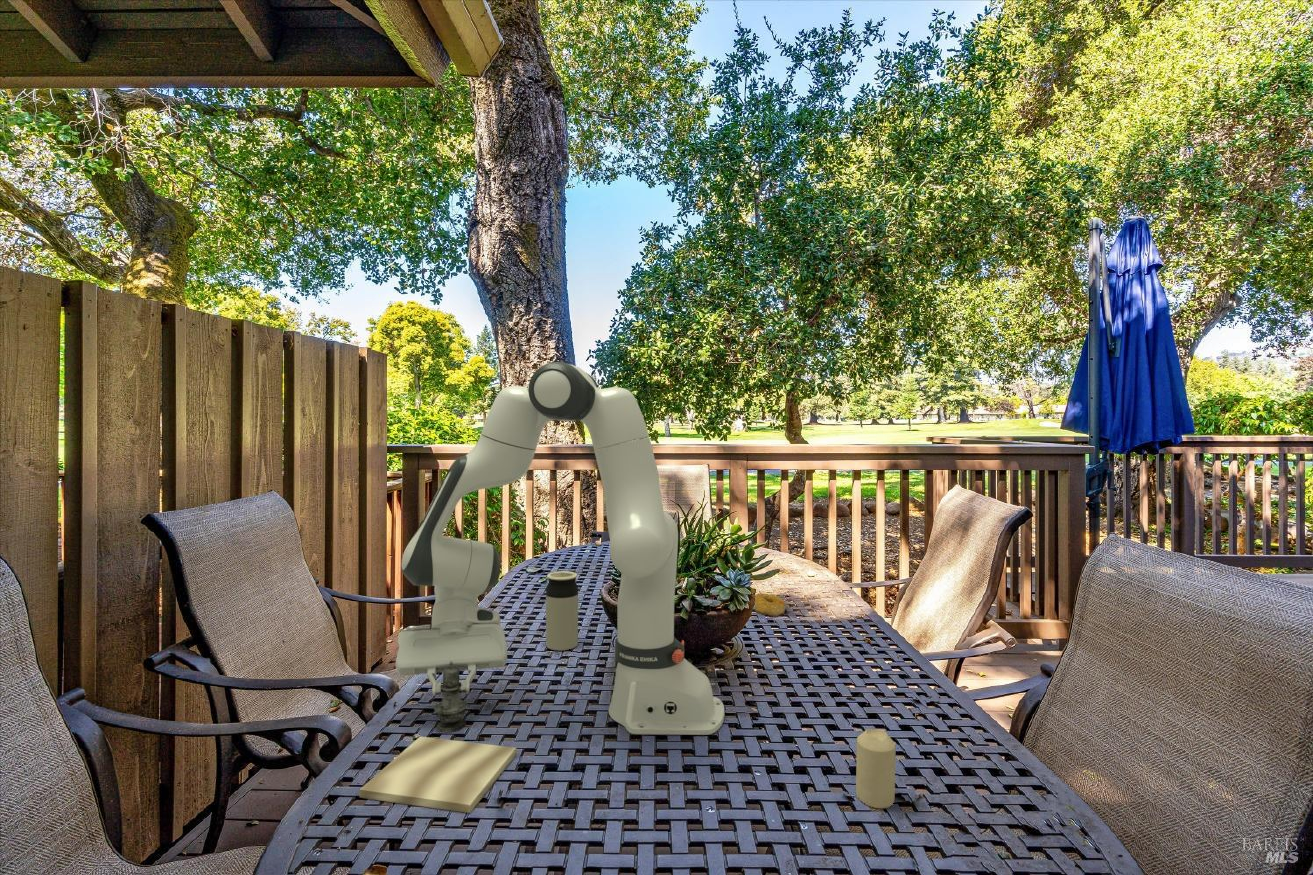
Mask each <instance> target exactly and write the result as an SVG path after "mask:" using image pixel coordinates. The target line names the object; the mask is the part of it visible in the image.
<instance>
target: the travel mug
mask: <svg viewBox="0 0 1313 875" xmlns="http://www.w3.org/2000/svg"><path fill="white" fill-rule="evenodd" d="M546 577H547V580H548V583H547V586H546V587H545V646H546V647H547V649H550V650H552V651H560V652H563V651H569V649H570V650H572V649H575V648H576V647H577V646H578V645H579V586H578V584H577V582H576V581H577V580H576V579H577V577H578V574H577V573H576V572H574V571H569V570H568V571H567V570H564V571H562V570H559V571H552V572H549V573H548V574H547V575H546Z"/></svg>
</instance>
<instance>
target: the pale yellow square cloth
mask: <svg viewBox="0 0 1313 875" xmlns="http://www.w3.org/2000/svg"><path fill="white" fill-rule="evenodd" d="M516 756H517V747H513V746H504V745H496V744H488V743H478V742H471V741H469V742H468V741H462V740H461V741H460V740H453V739H444V738H437V737H436V738H435V737H430V736H429V737H427V736H419V737H418V738H417V739H416V740H414V741H413V742H412V743H410V745H408V747H406V748H405V749H404V750H402V752H400V753H399V754H398V755H397V756H396V757H395V758H394V759H393V760H391V762H389V763H388V764H387V765H385V766H384V767H383V768H382V769H381V770H380V771H379V772H377V774H375V775H374V776H373V777H372V778H371V779H370V780H369V781H367V782H366V783H365V784H364V785H363V786H362V787H360V789H358V790H359V791H358V792H359V793H358V794H359V798H360V799H361V798H362V799H367V800H368V799H369V800H374V801H375V800H376V801H382V802H390V803H397V804H402V805H412V806H417V807H425V808H431V809H439V810H444V811H445V810H446V811H453V812H459V813H467V814H471V812H472V811H473V810H474V809H475V808H476V806H477V805H478V804H479V803H480V802H481V800H482V799H483V798H484V796H485V795H486V794H485V793H488V791H489V790H490V789H491V787H492V786H493V785H494V784H495V782H496V781H497V780H498V778H500V776H501V775H500V774H502V773H503V772H504V771H505V769H507V767H508V766H509V765H510V763H511V762H512V761H513V760H514V758H515V757H516ZM484 794H485V795H484Z"/></svg>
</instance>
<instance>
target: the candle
mask: <svg viewBox="0 0 1313 875" xmlns="http://www.w3.org/2000/svg"><path fill="white" fill-rule="evenodd" d="M896 748H897V747H896V743H895V742H894V740H893V739H892V738H891V736H890V735H888V733H887V732H886V731H885V730H884V731H883V730H881V729H879V728H876V729H872V728H866V730H864V731H863V732H862V733H861V734H860V735H858V736H857V737H856V764H855V765H856V769H855V770H856V771H855V773H856V775H855V776H856V777H855V780H856V781H855V793H856V794H855V795H856V797H857V799H858V798H859V799H858V800H859V801H860V802H861V801H862V802H863V803H862V802H861V803H862V804H864V803H865V804H864V805H865V806H867V807H871V808H874V809H887V808H891V807H892V806H893V805H894V804H893V803H895V800H896V799H895V798H896V797H895V795H896V794H895V792H896V791H895V790H896ZM891 805H892V806H891ZM890 806H891V807H890Z"/></svg>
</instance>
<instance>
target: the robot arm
mask: <svg viewBox="0 0 1313 875" xmlns="http://www.w3.org/2000/svg"><path fill="white" fill-rule="evenodd" d="M578 421H580V422H582V423H583V424H584V425H585V426H586V429H587V430H588V432H589V435H590V440H591V443H592V447H593V450H594V455H595V458H596V463H597V464H596V465H597V467H598V471H599V472H598V473H599V475H600V478H601V484H602V488H603V493H604V501H605V512H606V523H607V528H608V529H607V530H608V538H609V553H610V554H609V556H610V559H611V562H612V564H613V565H614V567H615V568H616V569H617V571H619V572H620V573H621V574H620V575H621V576H620V583H619V589H618V590H619V591H618V595H617V623H616V624H617V627H616V628H617V630H616V632H617V634H616V636H617V637H616V639H614V640H615V641H614V649H613V650H614V653H613V654H614V657H613V659H614V668H615V679H614V684H613V685H614V686H613V692H612V696H611V700H610V704H609V707H608V715H609V716H610V718H611V719H612V720H614V721H615V722H616V723H618V724H620V725H621V726H623V727H624V728H625V729H626V731H627V732H628V733H630V734H632V735H678V736H679V735H684V736H685V735H689V736H690V735H693V736H694V735H698V736H700V735H701V736H702V735H703V736H705V735H707V736H708V735H713V733H716V732H717V731H718V730H719V729H720V728H721V727H722V725H723V723H724V720H725V706H724V703H723V701H722V700H721V699H720V698H718V697H717V696H714V694H713V693H714V692H713V689H712V685H711V682H710V679H709V678H708V676H707V675H706V674H705V672H702V671H701V670H699V669H698V668H697V667H696V666H694V665H693V664H692V663H691V662H689V661H688V660H687V659H686V658H685V641H684V639H682V640H681V642H680V641H679V640H678V639H677V638H676V637H675V635H674V634H675V594H676V580H677V567H678V565H677V564H678V548H679V546H678V545H679V530H678V527H677V526H678V525H677V524H676V521H675V520H674V518H673V516H671V514H669V513H668V512H666V511H665V510H664V507H663V500H662V492H661V483H660V473H659V469H658V466H657V463H656V459H655V458H656V457H655V455H654V450H653V446H652V442H651V439H650V435H649V432H648V427H647V424H646V421H645V418H644V415H643V412H642V411H641V409H640V405H639V403H638V401H637V399H636V397H635V396H634V394H633V393H632V392H631V391H630V390H628V389H627V388H624V387H619V386H618V387H617V386H612V387H607V388H599V386H598V383H597V382H596V380H595V379H594V377H593V376H592V375H590V374H589V373H587V372H586V371H585V370H583V369H582V368H580V367H579V366H576V365H573V364H571V363H570V364H569V363H567V362H563V361H553V362H549V363H546V364H543V365H542V366H540V367H538V369H536V370H535V372H534V373H533V374H532V376H530V380H529V383H528V387H525V386H521V385H510V386H507V387H504V388H502V389H501V390H500V391H499V392H498V393H497V396H496V397H495V399H494V401H493V403H492V405H491V407H490V410H489V411H488V414H487V416H486V418H485V422H484V424H483V427H482V430H481V431H480V432H481V433H480V436H479V438H478V440H477V442H476V444H475V445H474V447H473V448H471V450H470V451H469V452H467V454H466V455H461V456H459V457H456V459H455V460H454V461H453V463H452V464H451V466H450V467H449V468H448V470H447V472H446V473H445V476H444V478H443V479H442V481H441V483H440V485H439V487H438V489H437V491H436V493H435V494H434V496H433V498H432V500H431V502H430V504H429V506H428V508H427V510H426V512H425V513H424V516H423V518H422V520H421V522H420V524H419V525H418V528H417V529H416V530H415V532H414V533H413V535H412V537H411V539H410V541H409V542H408V544H407V546H406V547H405V549H404V552H403V554H402V558H401V564H400V565H401V566H400V569H401V570H400V571H401V572H402V574H403V575H404V577H405V578H406V579H407V581H409V582H410V584H412V586H415V587H418V586H419V587H433V586H434V596H435V602H434V604H433V607H432V614H431V624H422V625H421V624H420V625H409V626H407V627H405V628H404V629H402V630H401V631H400V632H398V636H397V642H396V643H397V646H398V649H397V653H396V659H395V665H394V666H395V669H396V672H397V673H398V674H399V675H400V676H403V677H404V676H411V675H412V676H414V675H415V676H416V675H424V674H427V678H428V681H429V683H431V686H432V689H431V691H432V692H431V693H432V696H441V695H442V691H443V690H442V689H441V686H442V685H443V684H442V682H441V681H440V682H437V681H436V678H437V673H443V670H444V669H445V668H446V667H447V666H449V665H450V664H449V663H450V662H451V661H452V663H453V664H452V665H454V666H457V667H458V668H459V672H460V671H461V672H462V671H467V673H468V675H467V677H466V679H462V680H461V681H460V683H461V687H460V694H461V693H463V694H464V693H470V689H471V688H470V687H471V686H470V684H471V683H472V682H473V680H474V678H475V677H476V675H477V670H483V669H493V668H495V669H496V668H502V667H504V666H505V665H506V664H507V662H508V650H507V641H506V635H505V632H504V628H503V627H502V626H501V617H500V613H499V612H497V611H496V610H491V609H487V608H481V607H479V606H478V597H479V596H480V595H481V596H482V595H484V594H485V593H487V592H488V591H489V590H491V589H492V588H494V586H495V585H496V584H497V582H498V581H499V578H500V574H501V562H502V561H501V556H500V553H499V551H498V550H497V548H496V547H495V545H494V544H491V543H488V542H485V541H479V540H472V539H463V538H458V537H453V536H452V537H451V536H445V535H443V533H444V531H445V529H446V527H447V525H448V522H449V521H450V519H451V517H452V515H453V512H454V510H455V509H456V507H457V504H458V503H459V502H460V500H461V499H462V498H463V497H465V496H466V495H469V494H470V493H473V492H475V491H479V490H484V489H489V488H491V489H492V488H497V487H504V486H506V485H510V484H512V483H515V482H518V480H520V479H521V478H523V477H524V476H525V475H526V474H527V472H528V471H529V469H530V467H531V464H532V462H533V460H534V456H535V454H536V450H537V447H538V443H539V441H540V437H541V434H542V432H543V429H544V428H545V427H546V425H547V424H548V423H550V422H564V423H565V422H568V423H569V422H570V423H571V422H578Z"/></svg>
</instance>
